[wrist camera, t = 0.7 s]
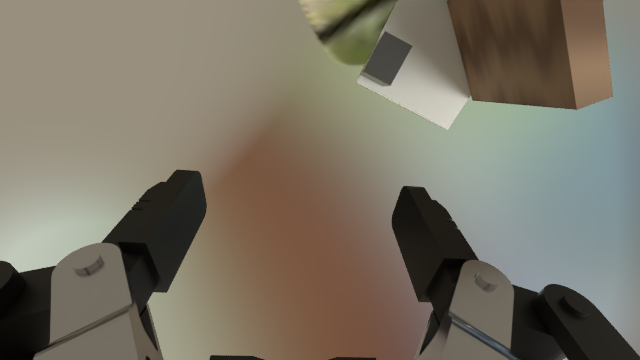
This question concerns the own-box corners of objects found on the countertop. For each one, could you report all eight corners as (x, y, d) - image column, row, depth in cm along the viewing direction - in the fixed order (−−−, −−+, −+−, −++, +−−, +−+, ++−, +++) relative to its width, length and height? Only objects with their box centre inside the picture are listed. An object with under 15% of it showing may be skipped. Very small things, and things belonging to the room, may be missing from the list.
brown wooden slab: (436, -23, 27) (531, -145, 13) (462, -37, 26) (590, -180, 12) (469, 101, 31) (571, 111, 17) (492, 92, 30) (618, 94, 16)
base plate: (418, -42, 28) (439, -83, 21) (520, 15, 28) (571, -7, 22) (356, 82, 33) (357, 80, 26) (444, 128, 33) (467, 138, 27)
